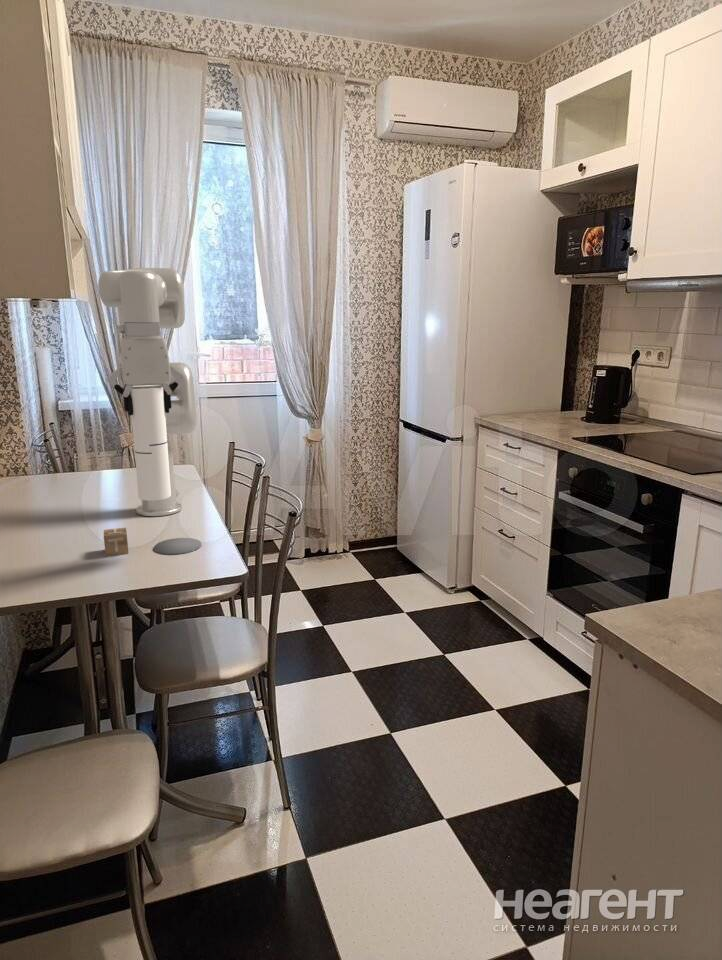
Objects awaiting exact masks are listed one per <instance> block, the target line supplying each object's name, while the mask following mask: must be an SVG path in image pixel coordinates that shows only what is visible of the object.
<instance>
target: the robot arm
mask: <svg viewBox="0 0 722 960" xmlns="http://www.w3.org/2000/svg"><path fill="white" fill-rule="evenodd" d="M97 285H98V286H97V290H98V296H99V298H100V300H101V302H102V304H103V305H104V306H105V307H108V308H117V313H118V319H119V322H120V325H116V326H115V330H116V333H120V334H122V335H123V337H121V338H120V344H119V366H118V367H117V368H116V369H115V370H114V371H113V372H112V373H110V374H109V375H108V376H107V377H106V382H107V383H108V384H109V385H111V387H112V388H113V389H114V390H115V391H117V392H118V393H119V394H120V395H122V401H123V409H124V412H127V415H128V416H130V422H132V415H133V409H132V398H131V397H130V391H131V388H132V387H133V386H144V385H156V386H162V387H163V390H164V404H165V418H166V432H167V436H168V435H185V434H186V435H187V434H191V433H194V431H195V430H196V429H197V407H196V398H195V397H196V396H195V384H194V378H193V372H192V370H191V368H190V366H189V365H188V364H186V363H184V362H170V357H169V351H168V346H167V342H166V339H165V337H161V329H162V330H163V329H167V330H168V329H179V328H182V326H183V325H184V323H185V320H186V319H185V318H186V309H185V307H186V306H185V305H186V304H185V287H184V282H183V279H182V277H181V275H180V273H179V272H178V271H177V270H176V269H175V268H168V267H165V268H162V267H161V268H159V267H136V268H128V269H127V268H126V269H121V270H120V269H119V270H103V272H101V273H100V276H99V277H98V283H97ZM119 377H120V379H121V382H122V383H124V386H121V385H119V384H118V382H117V381H116V379H118V378H119ZM172 397H175V398H177V399H176V400H172ZM167 445H168V459H169V473H170V487H171V496H170V497H168V498H166V499H162V500H153V501H148V500H141V499H140V500H141V501H140V503H141V504H140V505H138V506H137V507H136V508H135V509H136V514H138V515H140V516H144V517H163V516H169V515H172V514H176V513H179V512H180V511H182V509H183V505H182V503H180V502H178V501H177V497H179V495H180V491H179V490H176V483H175V482H176V481H175V468H174V467H175V466H174V455H173V449H172V447H171V445H170V444H169V442H167Z"/></svg>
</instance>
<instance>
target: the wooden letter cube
mask: <svg viewBox="0 0 722 960" xmlns="http://www.w3.org/2000/svg"><path fill="white" fill-rule="evenodd" d="M103 542H104V553H105V557H113V556H120V555H128V553H129V545H128V544H129V543H128V532H127V527H119V528H110V529H103Z"/></svg>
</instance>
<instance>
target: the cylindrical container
mask: <svg viewBox="0 0 722 960" xmlns="http://www.w3.org/2000/svg"><path fill="white" fill-rule="evenodd" d="M130 397H131V398H132V409H133V415H132V421H131V424H132V426H131V427H132V437H133V448H134V449H133V450H134V461H135V472H136V473H135V474H136V482H137V484H136V485H137V495H138V499H140V500H148V501H153V500H162V499H166V498H168V497H170V496H171V487H170V473H169V459H168V445H167V443H168V435H167V432H166V418H165V404H164V390H163V387H162V386H156V385H144V386H135V385H133V387H132V388H131V391H130Z"/></svg>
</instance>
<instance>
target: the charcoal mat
mask: <svg viewBox="0 0 722 960" xmlns="http://www.w3.org/2000/svg"><path fill="white" fill-rule="evenodd" d="M201 547H202V541H200V540H199V539H196V538H191V537H178V538H177V537H175V538H170V539H165V540H163V541H160V542H157V543H156V544H155V545H154V546H153V549H154V552H156V553H158V554H160V555H169V556H172V555H173V556H174V555H184V554H188V553H192V552H195V551H197V550H199V549H200V548H201Z"/></svg>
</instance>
